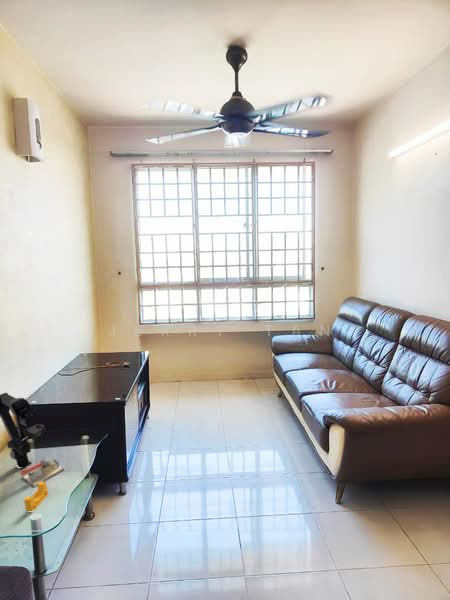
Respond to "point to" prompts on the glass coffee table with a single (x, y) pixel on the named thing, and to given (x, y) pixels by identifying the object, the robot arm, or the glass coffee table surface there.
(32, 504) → the pipe clamp
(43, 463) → the lever
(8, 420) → the robot arm
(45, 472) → the valve body
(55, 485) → the glass coffee table surface
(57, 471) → the board
